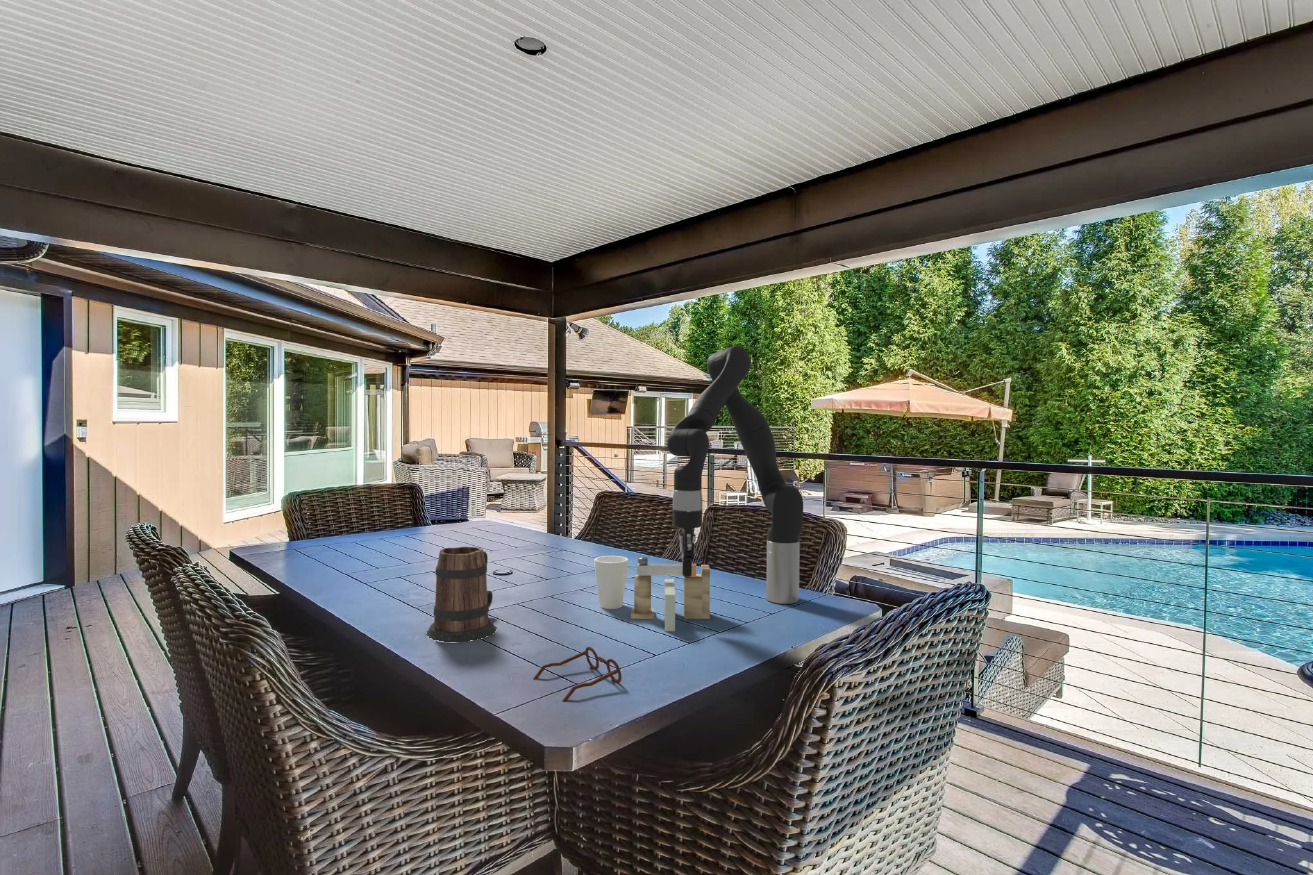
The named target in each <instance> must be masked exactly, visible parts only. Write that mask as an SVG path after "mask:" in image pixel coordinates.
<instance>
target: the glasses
mask: <svg viewBox="0 0 1313 875" xmlns="http://www.w3.org/2000/svg"><path fill="white" fill-rule="evenodd" d="M589 651H590V652H591V653H592V654H593V657H594V658H595V659H594V660H595V665H594V664H593V663H592V662H591V659H590V655H589ZM583 656H585V657H586V662H587V663H588V665H589V667H590V668H591V669H593V670H594V671H595V670H598V669H599V667H600V662H601V663H603V664H604V665H606V668H607V670H606V671H607V672H608V673H606V674H604V675H602V676H600V677H598V678H596V679H594V680H592V681H590V682H584V683H579V684H577V685H574V686H572V688H571V689H570V690H569V691H568V693H567V694H566V695H565V696H564V698H563V699H562V702H566V701H568V700H569V698H570V697H571V696H572V695H573V693H574V692H575V691H576V690H577V689H578V690H579V689H580V688H585V687H592V686H594V685H596V684H599V683H601V682H602V681H604V680H607V679H608V678H610V679H611V680H612V681H613V682H614V683H616V684H619V683H621V682H622V672H621V668H620V667H619V665H618V663H617V661H616V660H615V659H613V658H609V659H607V660H606V659H605V658H603V657H601V656H598V654H597V652H596V650H595V649H594V648H593V647H591V646H587V647H586V648H585V650H584V651H582V652H579V653H577V654H575V655H572V656H570V657H568V658H566V659H565V660H562V661H560V662H550V663H548V664H543V665H542V666H541V668H540V669H539V670H538V672H537V673H536V674H535V676H534V677H533V678H532V680H538V678H540V676H541V675H542V673H543V672H544V671H545V670H546V669H548V668H550V667H561V666H564V665H565V664H567V663H570V662H572V661H573V660H574V661H575V660H576V659H578V658H581V657H583ZM599 661H600V662H599ZM611 663H612V664H613V666H615V668H616V669H615V670H612V671H611V666H610V664H611ZM616 674H617V675H618V678H615V677H614V675H616Z"/></svg>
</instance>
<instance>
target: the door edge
mask: <svg viewBox="0 0 1313 875" xmlns="http://www.w3.org/2000/svg"><path fill="white" fill-rule="evenodd" d="M663 581H664V591H663V592H664V593H663V594H664V597H663V598H664V601H663V603H664V606H663V613H664V614H663V615H664V616H663V617H664V619H663V620H664V632H676V590H675V589H676V588H675V579H674V578H664V580H663Z"/></svg>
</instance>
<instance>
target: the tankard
mask: <svg viewBox="0 0 1313 875" xmlns="http://www.w3.org/2000/svg"><path fill="white" fill-rule="evenodd" d="M438 554H439V555H438V559H437V566H435V576H436V580H435V581H436V582H435V598H434V599H435V604H434V606H433V616H434V621H433V623H431V625H430V626H429V628H428V630H427V631H426V632H427V634H426V635H427V636H429V638H432V639H433V640H439V641H444V642H467V643H469V642H468V641H470V640H477V639H478V641H480V640H479V639H481V638H485V637H486V636H490V635H492V634H493V633H495V631H496V629H497V630H498V628H497V626H496V625H495V624H494V622H493V621H492V620H491V618H489V612H490V607H491V605H492V603H493V592H492V591H491V590H488V582H487V572H488V553H487V552H486V551H484V549H483V548H480V547H477V546H460V547H459V546H458V547H446V548H441V549H440V550H439V553H438ZM495 634H496V633H495ZM493 635H494V634H493ZM493 635H492V636H493ZM490 637H491V636H490ZM485 639H486V638H485ZM481 640H482V639H481Z"/></svg>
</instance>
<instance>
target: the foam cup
mask: <svg viewBox="0 0 1313 875" xmlns="http://www.w3.org/2000/svg"><path fill="white" fill-rule="evenodd" d="M593 560H594V561H593V562H594V563H593V566H594V570H595V580H596V589H597V596H598V603H599V607H600V608H602V609H606V610H614V609H615V610H616V609H620V608H622V607H623V604H624V597H625V596H624V595H625V591H626V590H625V589H626V582H627V576H628V575H627V574H628V569H629V558H628V557H625V556H622V555H603V556H598V557H596V558H594V559H593Z"/></svg>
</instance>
